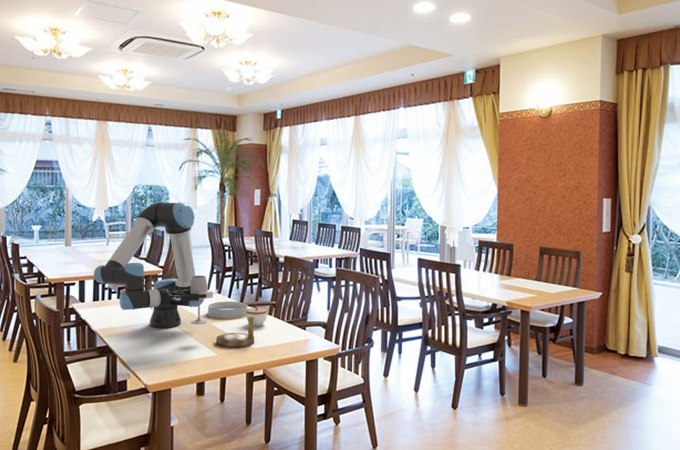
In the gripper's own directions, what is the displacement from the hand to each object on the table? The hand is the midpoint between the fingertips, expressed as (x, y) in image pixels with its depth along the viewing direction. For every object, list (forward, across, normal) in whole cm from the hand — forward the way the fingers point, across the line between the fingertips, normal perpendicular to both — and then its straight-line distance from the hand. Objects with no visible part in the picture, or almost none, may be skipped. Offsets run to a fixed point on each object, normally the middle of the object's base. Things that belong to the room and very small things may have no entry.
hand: (209, 292), depth 243 cm
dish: (+27, -47, -24) cm, 59 cm away
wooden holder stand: (+9, +9, -22) cm, 26 cm away
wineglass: (-5, 0, -13) cm, 14 cm away
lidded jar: (+31, -17, -23) cm, 42 cm away
